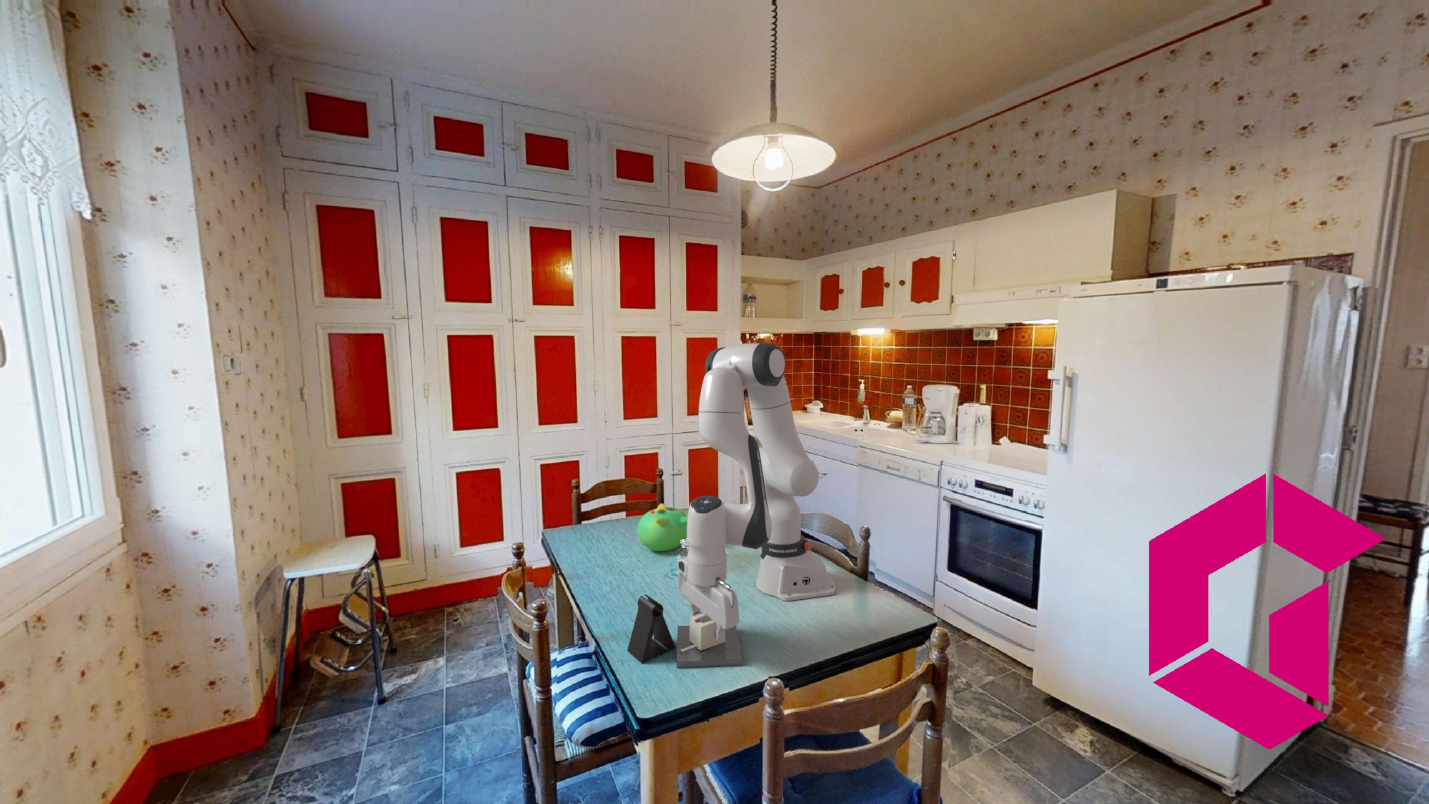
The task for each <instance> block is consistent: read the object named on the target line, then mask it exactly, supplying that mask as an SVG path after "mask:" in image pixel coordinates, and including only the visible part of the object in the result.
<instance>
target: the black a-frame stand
mask: <svg viewBox="0 0 1429 804" xmlns="http://www.w3.org/2000/svg"><path fill="white" fill-rule="evenodd" d="M636 612H637V613H636V616H635V620H634V624H633V626H632V631H631V635H630V639H629V643H628V646H627V649H626V650H627V652H628V653H629V654H631V656H632V657H634V658H635V659H636V660H637V661H638V662H640V663H641V664H645V663H647V662H649V661H651V660H653V659H656V658H658V657H659V656H662V655H665V654H666V653H669V652H671V651H672V650H675V648H676V644H675V643H674V640H673V637H672V635H671V632H670V629H669V627H668V624H667V622H666V620H665V616H664V606H663V604H661V603H660V602H658V601H657V600H655V599H654V598H652V597H651V596H649V595H648V594H646V593H645V594H644V596H643V595H640V596H639V597H638V600H637V611H636Z"/></svg>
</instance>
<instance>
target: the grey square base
mask: <svg viewBox="0 0 1429 804" xmlns="http://www.w3.org/2000/svg"><path fill="white" fill-rule="evenodd" d="M707 622H708V621H707ZM689 632H690V625H677V632H676V633H677V635H676V640H677V641H676V669H686V668H687V669H688V668H689V669H690V668H709V667H710V668H712V667H733V666H735V667H737V666H742V665H743V658H742V652H741V647H740V640H739V636H738V635H739V634H738V629H737V626H735V627H732V628H730V629H726V630H725V642H724V643H721V644H718V645H715V646H713V647H710V648H707V649H704V650H701V651H700V650H699V649H698V648H697V647H696V646H695V645H694V644H693V643H692V642H690V641H689Z"/></svg>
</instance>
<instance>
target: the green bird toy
mask: <svg viewBox="0 0 1429 804" xmlns="http://www.w3.org/2000/svg"><path fill="white" fill-rule="evenodd" d="M687 519H688V515H686V514H685V513H684V512H683V511H682V510H680V509H679V508H675V507H671V506H666V505H665V504H664V503H659V505H658V506H657V508H653V509H651V510H649V511H648V512H646V513H644V515H643V516H641V518H640V520H639V522H638V525H637V536H638V539H639V541H640V542H641V544H642V545H643V546H645V548H647V549H649V550H651V551H654V552H655V551H656V552H666V551H671V550H674V549H676V548H678V547H680V546H681V545H680V540H682V539H686V538H687ZM686 540H687V539H686ZM679 545H680V546H679Z"/></svg>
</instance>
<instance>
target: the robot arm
mask: <svg viewBox="0 0 1429 804" xmlns="http://www.w3.org/2000/svg"><path fill="white" fill-rule="evenodd" d="M786 367H787V363H786V356H785V353H784V352H783V351H782V349H781V348H780V347H779V346H778V345H777V344H775V343H772V342H760V343H755V342H752V343H749V342H748V343H740V344H738V345H736V344H735V345H731V346H726V347H724V346H723V347H719V348H716V349H714V350H713V351H710V353H709V354H708V355H707V358H706V360H705V364H704V372H705V375H704V377H703V380H702V385H701V390H700V395H699V401H698V402H699V403H698V419H697V420H698V432H699V435H700V437H701V439H702V440H703V442H705V444H706V445H708V446H709V447H710V448H711V449H714V451H718V452H719V453H722V454H724V455H726V456H728V457H731V458H732V459H734V460H735V461H736V462H738V463H739V464H740V466H741V467H742V470H743V473H744V480H745V486H746V487H745V488H746V494H747V503H736V502H735V503H734V502H725V501H723V500H722V499H721V498H720V497H717V496H713V495H703V496H700V497H696V498H694V499H693V500H692V501H691V502H690V504H689V507H688V512H687V516H688V519H687V539H686V541H687V545H688V552H687V555H686V556H685V557H682V558H679V559H677V560H676V567H677V569H678V571H677V577H678V579H677V580H678V581H677V582H678V589H679V592H680V594H681V596H682V597H684V598H685V599H686V600H687V601H688V604H689V607H690V610H691V617H693V616H696V615H699V614H702V613H705V614H706V615H707V616H708V617H710V618H711V619H712V620H713V621H715V622H716V626H717V627H718V628H717V630H714V637H715V638H716V639H717V640H719V641H720V640H722V639H724V631H725V630H726V629H730V628H732V627H735V626H736V627H737V625H738V624H739V623H740V613H739V611H740V610H739V602H738V597H737V594H736V592H735V590H733V589H732V585H730V584H729V583H727V582H726V580H727V577H728V572H727V570H728V569H727V568H728V566H727V565H728V564H727V563H728V562H727V561H728V560H727V557H728V556H727V552H726V549H725V546H727V545H728V546H729V545H730V546H737V547H738V546H739V547H743V548H747V549H753V550H759V556H760V561H759V567H758V574H757V576H756V577H757V578H756V580H755V586H756V588H757V589H758V590H759V591H761V592H762V593H764V594H766V595H769V596H773V597H776V598H778V599H780V600H782V601H785V602H786V601H787V602H790V601H796V600H804V599H811V598H819V597H826V596H833V595H835V594H836V592H837V585H836V581H835V579H833V577H832V576H831V575H830V574H829V573H828V571H827V566H826V565H825V562H824V561H823V560H822V559H821V558H820V557H818V556H817V555H816V554H815V553H814V552H812V550H813V545H812V544H811V542H810V541H808V539H807V538H806V537H804V535H803V534H801V533H802V532H801V531H802V529H801V527H802V513H801V508H800V507H799V505H798V503H797V501H796V500H795V497H801V498H802V497H807V496H809V495H812V493H813V492H814V491H815V490H816V488H817V486H818V484H819V481H820V473H819V470H818V467H817V466H816V465H815V463H813V461H812V460H811V459H810V457H809V455H808V454H807V452H806V450H805V448H804V446H803V443H802V442H801V439H800V437H799V434H798V431H797V429H796V426H795V425H796V424H795V421H794V416H793V411H792V410H793V409H792V403H791V402H792V401H791V398H790V392H789V388H788V385H787V380H786V378H785V372H786ZM745 389H747V394H748V403H749V408H750V415H751V420H752V421H751V422H752V426H753V431H754V435H755V436H754V435H751V434H750V432H749V430H748V428H747V425H746V422H745V394H744V392H745ZM757 440H758V441H759V442H760V444H761V445H762V447H759V444H758V441H757Z"/></svg>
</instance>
